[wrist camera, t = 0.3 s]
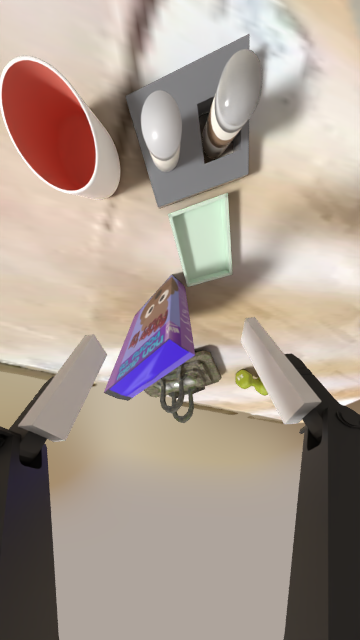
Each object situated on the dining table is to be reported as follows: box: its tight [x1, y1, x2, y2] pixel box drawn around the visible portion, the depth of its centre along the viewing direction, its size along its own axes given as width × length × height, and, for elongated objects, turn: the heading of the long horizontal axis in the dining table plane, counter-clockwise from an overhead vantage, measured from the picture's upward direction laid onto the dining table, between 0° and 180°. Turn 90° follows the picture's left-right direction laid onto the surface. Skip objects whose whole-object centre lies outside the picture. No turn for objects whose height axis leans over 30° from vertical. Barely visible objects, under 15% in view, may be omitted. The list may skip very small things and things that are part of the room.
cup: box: [0, 56, 120, 200], centre depth 20 cm, size 10×10×10 cm
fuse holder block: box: [125, 34, 249, 208], centre depth 19 cm, size 12×16×11 cm
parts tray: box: [168, 193, 232, 287], centre depth 31 cm, size 15×11×3 cm
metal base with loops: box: [144, 350, 221, 423], centre depth 55 cm, size 35×34×18 cm
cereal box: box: [104, 275, 195, 401], centre depth 31 cm, size 17×5×24 cm, turn 137°
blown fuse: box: [202, 49, 262, 159], centre depth 19 cm, size 4×4×11 cm
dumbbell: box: [236, 369, 268, 396], centre depth 63 cm, size 16×8×7 cm, turn 59°
